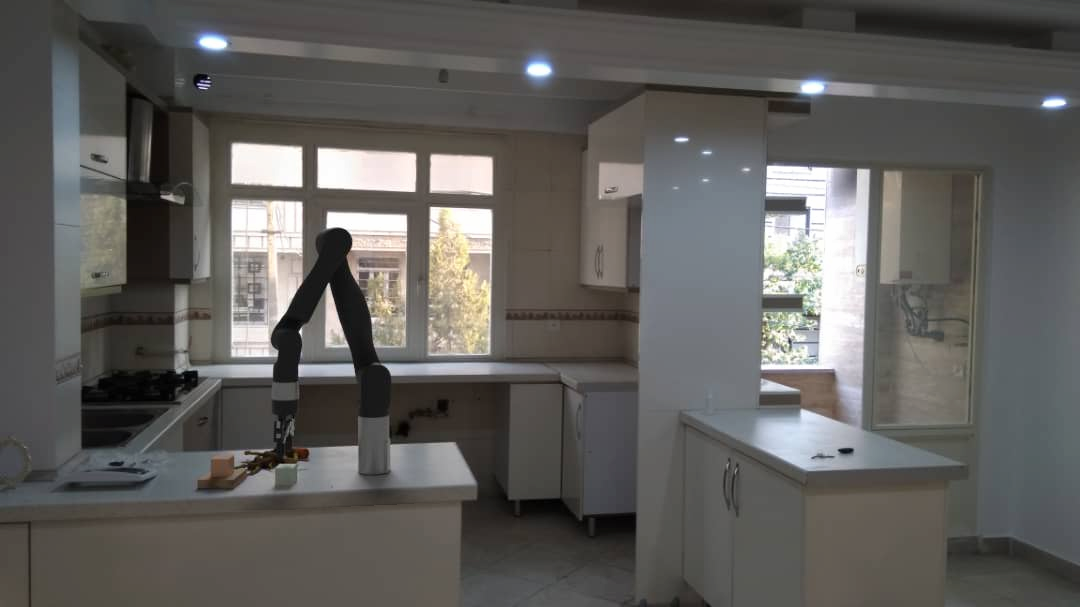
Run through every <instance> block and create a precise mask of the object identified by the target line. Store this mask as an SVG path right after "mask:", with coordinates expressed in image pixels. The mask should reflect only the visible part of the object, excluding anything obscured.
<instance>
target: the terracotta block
mask: <svg viewBox="0 0 1080 607" xmlns="http://www.w3.org/2000/svg"><path fill="white" fill-rule="evenodd" d="M234 467H235V454H234V455H233V454H221V455H220V454H217V455H215V456H214V457H212V458H210V471H211V477H229V476H230V475H231V474H233V473H234Z"/></svg>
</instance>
